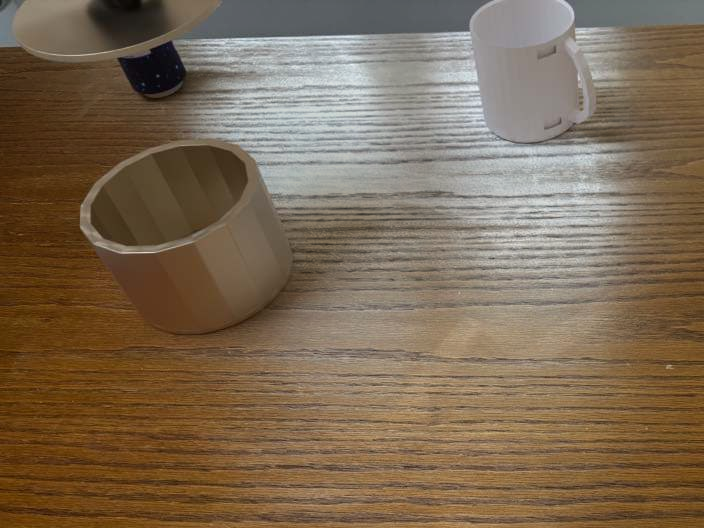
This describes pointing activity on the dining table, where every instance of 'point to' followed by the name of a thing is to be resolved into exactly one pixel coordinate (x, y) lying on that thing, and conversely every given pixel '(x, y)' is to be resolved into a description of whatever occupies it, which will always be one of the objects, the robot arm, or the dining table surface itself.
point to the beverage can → (154, 70)
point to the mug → (530, 69)
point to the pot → (189, 235)
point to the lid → (103, 26)
